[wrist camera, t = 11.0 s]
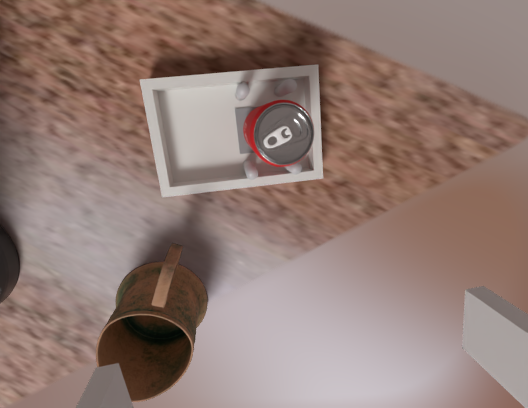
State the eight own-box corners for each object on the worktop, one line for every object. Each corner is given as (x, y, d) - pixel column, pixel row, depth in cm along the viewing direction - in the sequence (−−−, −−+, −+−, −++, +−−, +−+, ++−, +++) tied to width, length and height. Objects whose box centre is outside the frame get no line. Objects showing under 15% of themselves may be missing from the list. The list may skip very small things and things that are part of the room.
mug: (231, 232, 39) (233, 278, 28) (194, 346, 43) (182, 429, 32) (139, 206, 37) (100, 246, 26) (108, 329, 41) (61, 412, 29)
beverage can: (295, 139, 36) (328, 148, 24) (256, 160, 36) (270, 179, 24) (275, 97, 34) (299, 86, 23) (234, 119, 35) (238, 119, 23)
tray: (167, 190, 37) (154, 206, 30) (148, 83, 34) (128, 74, 27) (314, 173, 38) (333, 184, 32) (309, 69, 35) (329, 57, 28)
